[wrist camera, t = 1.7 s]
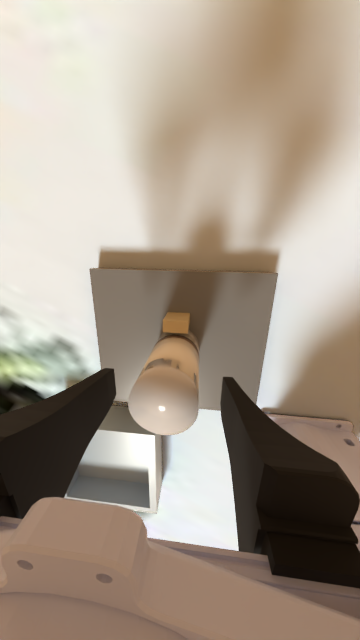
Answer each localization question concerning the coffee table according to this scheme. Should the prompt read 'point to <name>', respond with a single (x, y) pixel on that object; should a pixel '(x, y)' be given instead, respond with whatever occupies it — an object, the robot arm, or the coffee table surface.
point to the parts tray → (120, 465)
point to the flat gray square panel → (184, 323)
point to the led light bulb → (168, 386)
